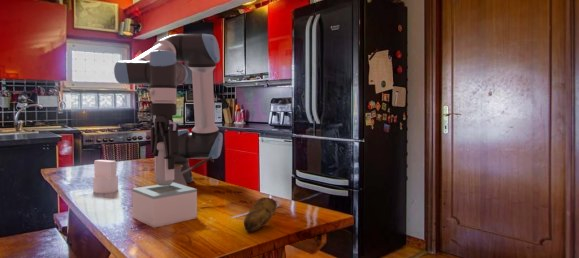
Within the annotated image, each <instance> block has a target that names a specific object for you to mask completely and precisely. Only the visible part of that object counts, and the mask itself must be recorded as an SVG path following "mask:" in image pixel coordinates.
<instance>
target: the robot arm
mask: <svg viewBox="0 0 579 258" xmlns="http://www.w3.org/2000/svg"><path fill="white" fill-rule="evenodd" d="M219 47H220V46H219V43H218V39H217V38H216V36H215V35H213V34H210V33H209V34H208V33H176V34H170V35H168V36H166V37H163V38H161V39H159V40H157V41H156V42H154V44H153V45H152V47H151V48H149V49H148V50H146V51H144V52H143V53H141V54H139V55H138V56H136V57H135V58H133V59H131V60H126V59H124V60H119V61H118V60H117V62H116V63H115V64H114V68H113V73H114V78H115V80H116V82H117V83H119V84H123V85H150V87H149V88H150V91H149V96H150V101H151V102H152V103H150V116H155V118H154V121H149V127H150V154H152V155H153V156H154V172H155V171H156V165H157V159H158V153H159V150H157V144H158V143H159V142H164V146H165V152H166V157H164V159H165V181H168V180H174V165H182V166H183V167H182V168H181V172H183V171H185V170H187V169H189V168H191V167H190V162H189V161H190V159H191V160H192V159H197V160H203V159H204V160H206V159H208V158H210V157H212V158H213V159H218V158H219V157H220V156H221V153H222V148H223V141H224V140H223V139H224V135H223V133H222V132H219V131H220V130H219V127H218V126H217V125H216V123H215V121H216V120H215V119H216V118H215V97H214V94H215V93H214V69H216V67H217V64H218V63H219V62H220V60H221V55H220V53H221V52H220V48H219ZM183 63H187V67H186V66H185V64H183ZM187 68H189V70H191V76H192V95H193V111H194V114H193V115H194V127H193V128H192V129H191V132H190V130H189V129H186V128H185V129H179V122H177V123H174V118H173V117H174V116H177V114H178V112H177V110H178V108H177V107H178V105H177V103H175V102H177V99H178V98H177V86H179V85H182V84H184V83H185V82H186V81H187V79H188V77H189V72H188V69H187ZM213 159H212V160H213ZM183 177H184V179H185V182H186V184H187V185H188V184H190V183H193V181H194V178H193V174H192V169H191V170H190V171H188V172H186V173H184V174H183Z"/></svg>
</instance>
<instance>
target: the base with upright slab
mask: <svg viewBox="0 0 579 258" xmlns="http://www.w3.org/2000/svg"><path fill="white" fill-rule="evenodd" d="M93 162H94V165H93V167H94V175H92V187H93V188H92V189H93V193H95V194H108V193H109V194H110V193H114V192H117V191H118V190H119V174H117V161H116V160H110V159H108V160H107V159H96V160H94V161H93Z"/></svg>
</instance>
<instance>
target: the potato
mask: <svg viewBox="0 0 579 258" xmlns="http://www.w3.org/2000/svg"><path fill="white" fill-rule="evenodd" d="M277 205H278V204H277V203H276V200H274V199H273V198H271V197H261V198H259V199H258V200H257V201H256V202H255V203H254V204H253V206H252V207H251V209H250V210H249V211H248V212H249V213H248V214H247V215H245V216H244V217H245V218H244V220H243V226H244V229H245V230H246V231H247V232H249V233H253V232H256V231H258V230H259V229H261V228H262V227H264V226H265V225H266V224H267V223H268V222H269V221H270V219H271V218H272V217H273V216H275V213H276V212H277V208H278V207H277ZM276 207H277V208H276Z"/></svg>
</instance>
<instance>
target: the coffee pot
mask: <svg viewBox="0 0 579 258" xmlns="http://www.w3.org/2000/svg"><path fill="white" fill-rule="evenodd" d="M209 161H211V162H213V163H214V162H215V160H214V159H213V158H212V157H210V158H208V159H204V160H201V161H199V162H197V163H196V164H194V165H191V167H190V168H189V169H187V170H185V171H183V172H181V168H182V167H183V166H182V165H174V180H173V181H172V183H173V182H174V183H178V184H181V185H185V186H188V183H187V184H186V182H185V179H184V177H183V174H184V173H186V172H188V171H190V170H191V171H192V170H194V169H196V168H198V167H200V166H202V165H204V164H205V163H206V162H209Z"/></svg>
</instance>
